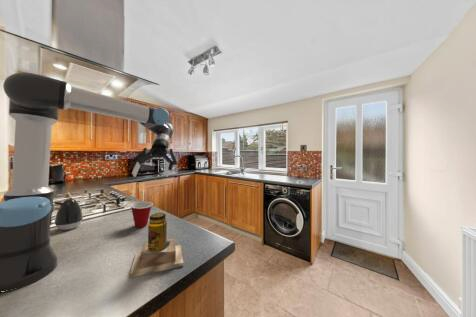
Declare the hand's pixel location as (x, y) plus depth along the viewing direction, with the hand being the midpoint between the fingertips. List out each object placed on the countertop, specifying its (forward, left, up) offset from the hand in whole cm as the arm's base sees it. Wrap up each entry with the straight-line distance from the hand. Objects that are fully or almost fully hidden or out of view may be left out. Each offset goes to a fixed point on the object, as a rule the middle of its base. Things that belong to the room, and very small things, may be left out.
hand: (150, 175), depth 75 cm
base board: (+5, -16, -30) cm, 34 cm away
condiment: (+4, -16, -25) cm, 30 cm away
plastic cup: (-5, +21, -30) cm, 37 cm away
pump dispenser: (-39, +30, -30) cm, 58 cm away
